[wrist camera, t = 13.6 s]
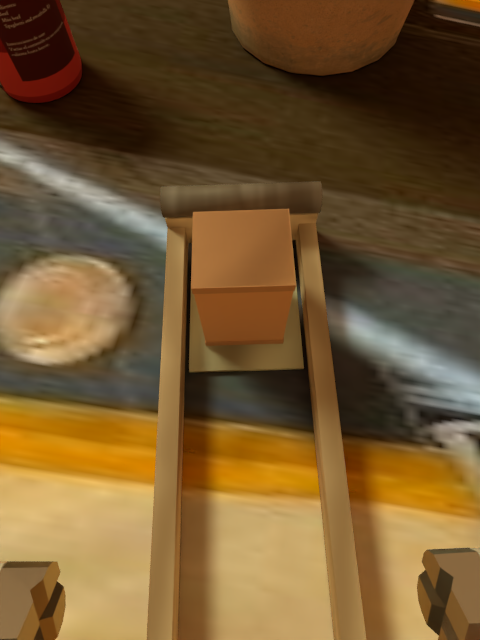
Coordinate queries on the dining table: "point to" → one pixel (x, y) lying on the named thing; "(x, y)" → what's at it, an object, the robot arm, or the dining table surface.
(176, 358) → the bay
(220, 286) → the orange brown block
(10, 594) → the robot arm
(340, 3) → the pottery
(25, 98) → the canned food
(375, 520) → the dining table surface
